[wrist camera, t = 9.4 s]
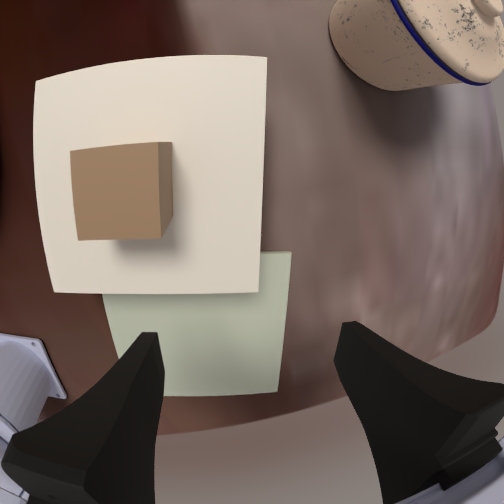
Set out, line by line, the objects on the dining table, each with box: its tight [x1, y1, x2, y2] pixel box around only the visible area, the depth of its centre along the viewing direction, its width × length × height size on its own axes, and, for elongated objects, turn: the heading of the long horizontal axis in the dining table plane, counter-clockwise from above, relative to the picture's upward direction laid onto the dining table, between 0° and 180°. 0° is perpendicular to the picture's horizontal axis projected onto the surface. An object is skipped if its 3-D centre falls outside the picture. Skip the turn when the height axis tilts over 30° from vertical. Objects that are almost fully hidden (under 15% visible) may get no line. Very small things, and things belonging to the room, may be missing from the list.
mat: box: [102, 251, 291, 396], centre depth 22 cm, size 14×14×1 cm
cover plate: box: [33, 55, 267, 294], centre depth 12 cm, size 12×12×4 cm
